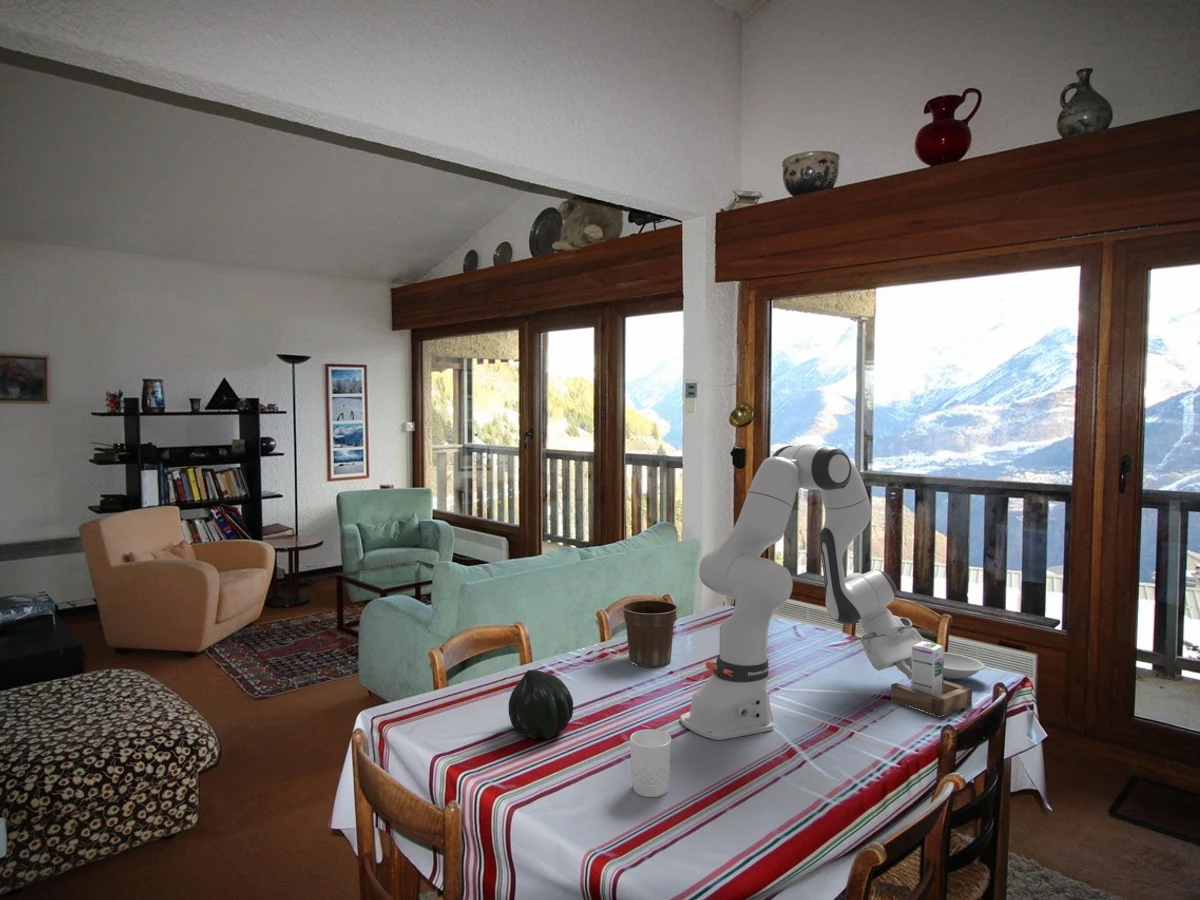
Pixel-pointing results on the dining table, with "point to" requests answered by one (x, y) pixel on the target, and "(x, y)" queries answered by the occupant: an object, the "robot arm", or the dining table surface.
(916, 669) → the syrup box
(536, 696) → the squash
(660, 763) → the white cup
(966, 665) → the dish
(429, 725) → the dining table surface
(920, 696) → the walnut bay
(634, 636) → the plant pot
